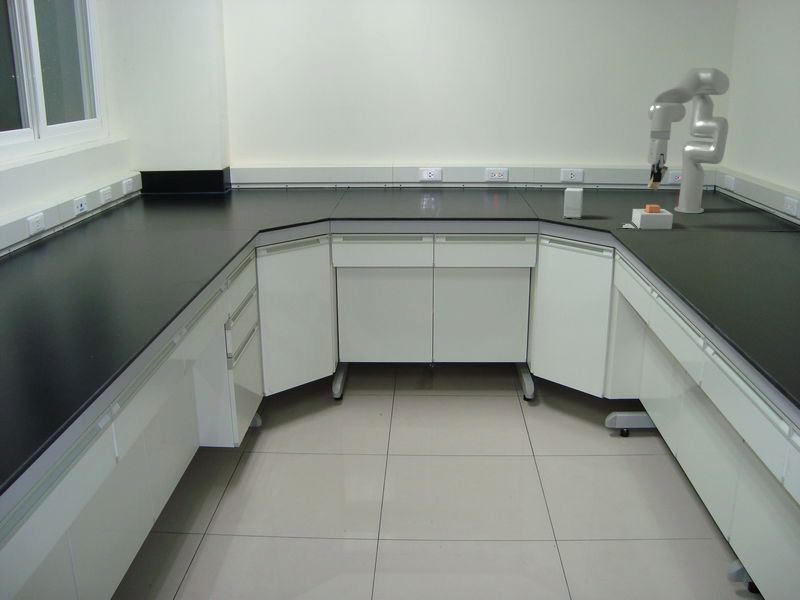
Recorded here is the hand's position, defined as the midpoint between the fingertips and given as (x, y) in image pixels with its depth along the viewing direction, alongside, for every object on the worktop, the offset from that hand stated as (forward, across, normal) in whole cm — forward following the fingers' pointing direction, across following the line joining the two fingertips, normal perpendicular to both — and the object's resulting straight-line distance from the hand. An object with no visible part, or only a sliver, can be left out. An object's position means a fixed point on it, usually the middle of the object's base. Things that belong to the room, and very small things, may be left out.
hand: (655, 181), depth 300 cm
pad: (+19, +3, -12) cm, 23 cm away
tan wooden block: (+3, 0, -1) cm, 3 cm away
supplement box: (+19, -17, -29) cm, 39 cm away
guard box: (+19, 0, 0) cm, 19 cm away
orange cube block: (+15, 0, 0) cm, 15 cm away
